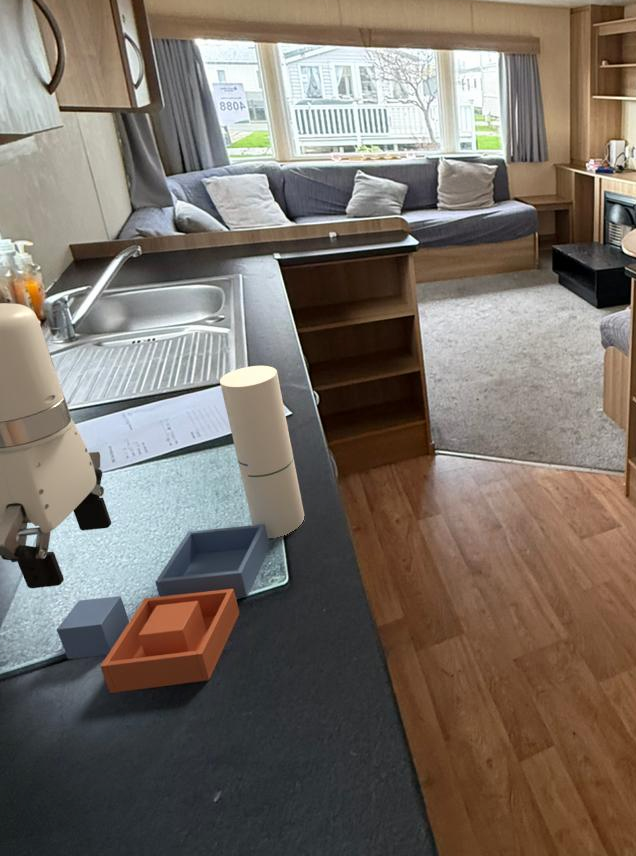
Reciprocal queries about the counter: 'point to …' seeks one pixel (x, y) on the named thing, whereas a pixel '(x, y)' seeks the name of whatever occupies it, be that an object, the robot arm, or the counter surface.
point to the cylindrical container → (263, 448)
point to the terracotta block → (173, 629)
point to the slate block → (93, 627)
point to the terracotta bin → (139, 672)
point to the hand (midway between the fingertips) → (73, 554)
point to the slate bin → (215, 561)
